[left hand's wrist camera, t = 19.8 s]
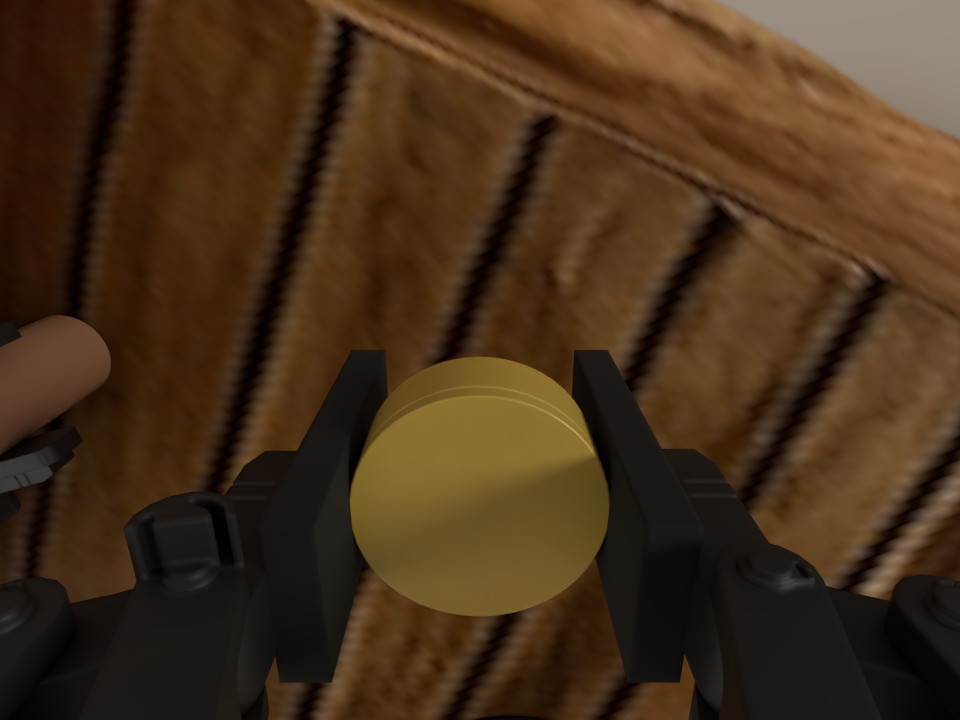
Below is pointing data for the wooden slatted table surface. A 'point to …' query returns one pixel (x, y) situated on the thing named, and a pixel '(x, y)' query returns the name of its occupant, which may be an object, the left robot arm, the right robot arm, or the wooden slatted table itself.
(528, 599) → the lid
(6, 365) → the brown long cylinder
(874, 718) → the left robot arm
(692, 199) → the wooden slatted table surface
